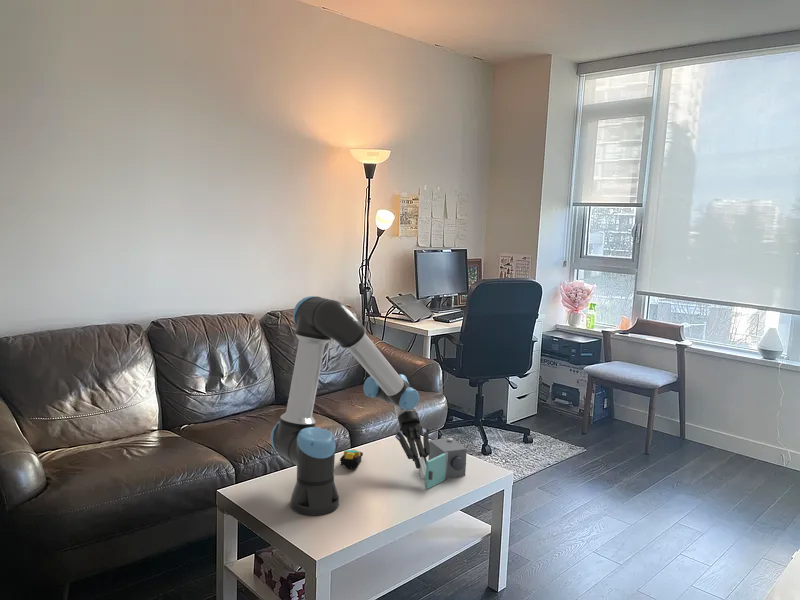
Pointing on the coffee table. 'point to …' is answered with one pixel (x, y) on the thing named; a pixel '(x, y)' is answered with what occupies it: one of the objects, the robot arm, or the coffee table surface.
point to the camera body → (450, 455)
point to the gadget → (351, 458)
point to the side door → (436, 470)
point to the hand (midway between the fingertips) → (424, 476)
